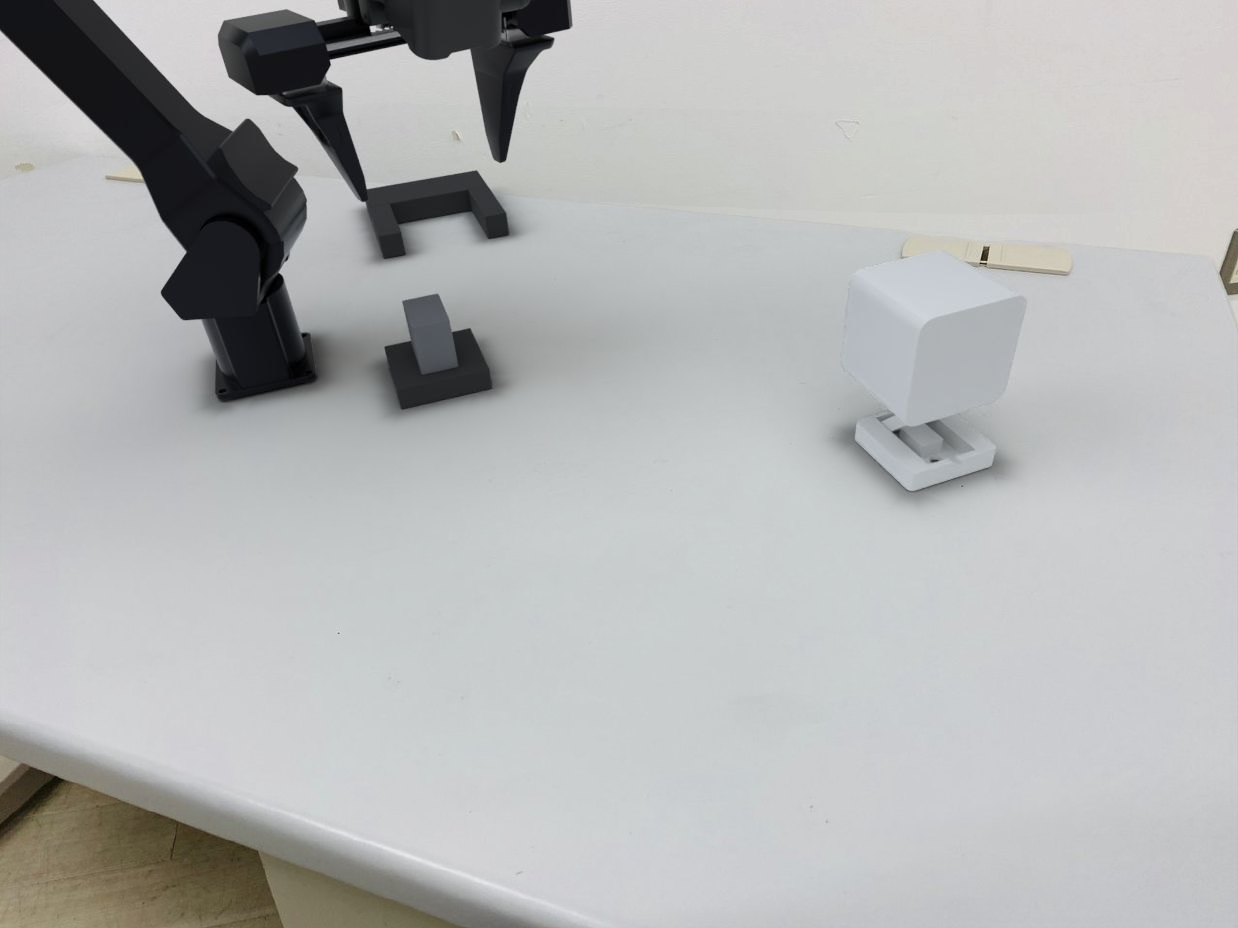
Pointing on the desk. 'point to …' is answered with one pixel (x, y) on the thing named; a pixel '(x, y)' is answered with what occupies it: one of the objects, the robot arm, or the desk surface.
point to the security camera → (929, 361)
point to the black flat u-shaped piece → (432, 206)
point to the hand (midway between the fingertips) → (433, 180)
